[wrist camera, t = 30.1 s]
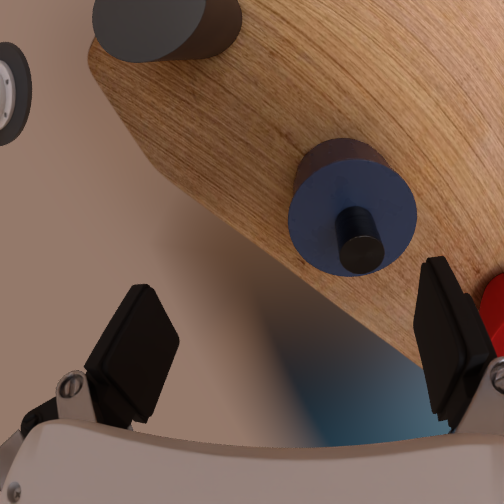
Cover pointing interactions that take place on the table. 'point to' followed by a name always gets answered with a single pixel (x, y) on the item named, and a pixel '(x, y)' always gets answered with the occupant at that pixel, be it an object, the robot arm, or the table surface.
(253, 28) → the table surface
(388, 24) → the table surface
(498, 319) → the ceramic cup
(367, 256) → the lid
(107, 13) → the riser
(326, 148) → the pot
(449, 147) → the table surface
